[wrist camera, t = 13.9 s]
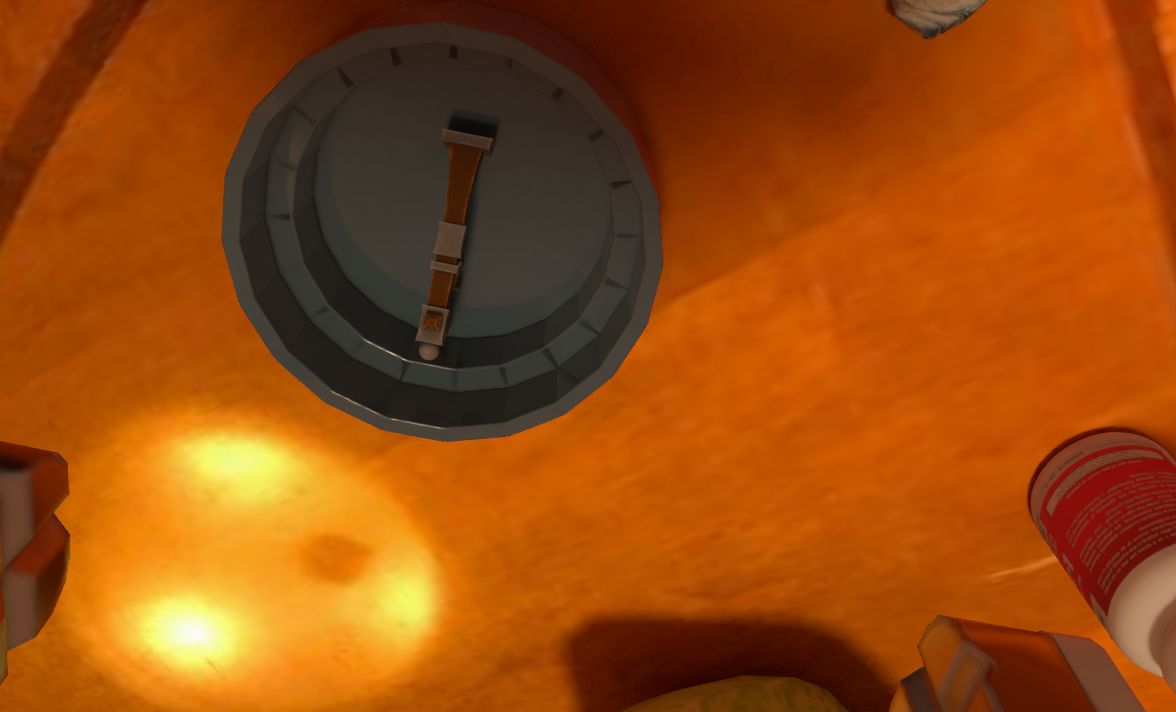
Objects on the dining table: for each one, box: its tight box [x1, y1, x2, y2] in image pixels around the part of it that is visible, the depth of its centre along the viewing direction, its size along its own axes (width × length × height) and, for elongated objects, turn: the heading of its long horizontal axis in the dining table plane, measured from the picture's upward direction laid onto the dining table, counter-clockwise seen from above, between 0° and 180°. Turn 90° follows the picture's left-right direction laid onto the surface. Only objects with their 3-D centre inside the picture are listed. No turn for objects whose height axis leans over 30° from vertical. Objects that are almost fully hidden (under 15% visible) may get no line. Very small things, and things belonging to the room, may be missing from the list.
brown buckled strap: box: [415, 129, 494, 360], centre depth 36 cm, size 2×8×4 cm, turn 168°
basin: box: [222, 1, 663, 442], centre depth 35 cm, size 14×14×6 cm
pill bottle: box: [1031, 432, 1176, 693], centre depth 38 cm, size 6×6×11 cm
